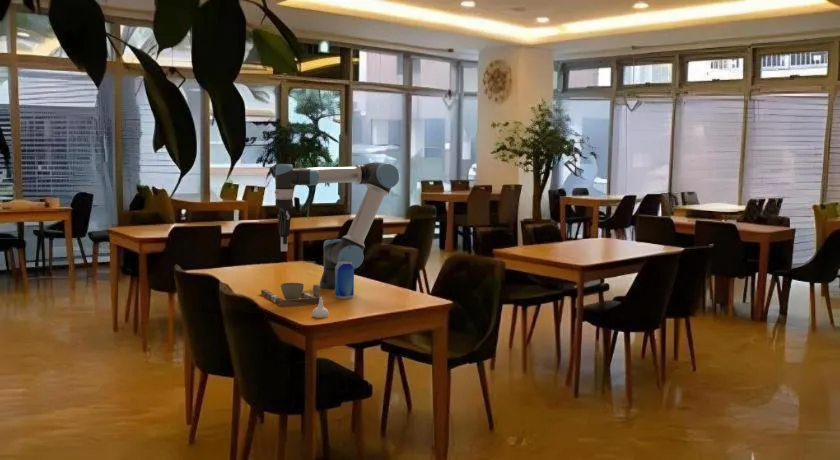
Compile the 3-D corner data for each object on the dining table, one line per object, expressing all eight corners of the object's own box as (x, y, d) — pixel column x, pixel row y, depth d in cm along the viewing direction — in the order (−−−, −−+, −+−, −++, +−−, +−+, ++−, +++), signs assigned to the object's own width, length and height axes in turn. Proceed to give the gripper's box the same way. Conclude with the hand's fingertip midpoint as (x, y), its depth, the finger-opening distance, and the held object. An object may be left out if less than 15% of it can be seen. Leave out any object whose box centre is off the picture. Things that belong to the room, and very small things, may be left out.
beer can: (338, 299, 347) (339, 263, 345) (332, 296, 354) (332, 261, 353) (356, 298, 351) (356, 263, 349) (349, 295, 358) (349, 260, 357)
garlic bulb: (319, 320, 306) (320, 300, 305) (308, 316, 310) (310, 296, 309) (331, 318, 311) (332, 298, 309) (320, 314, 315) (322, 295, 314)
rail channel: (261, 294, 357) (261, 281, 356) (304, 291, 366) (304, 278, 366) (281, 306, 329) (281, 292, 328) (328, 303, 338) (328, 289, 338)
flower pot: (299, 303, 338) (299, 286, 337) (277, 301, 340) (277, 285, 339) (306, 298, 347) (306, 283, 347) (285, 297, 349) (285, 281, 349)
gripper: (271, 198, 355) (271, 249, 357) (280, 199, 343) (280, 253, 345) (287, 197, 358) (287, 249, 360) (296, 199, 346) (296, 252, 349)
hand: (284, 251), depth 353 cm, fingers closed
